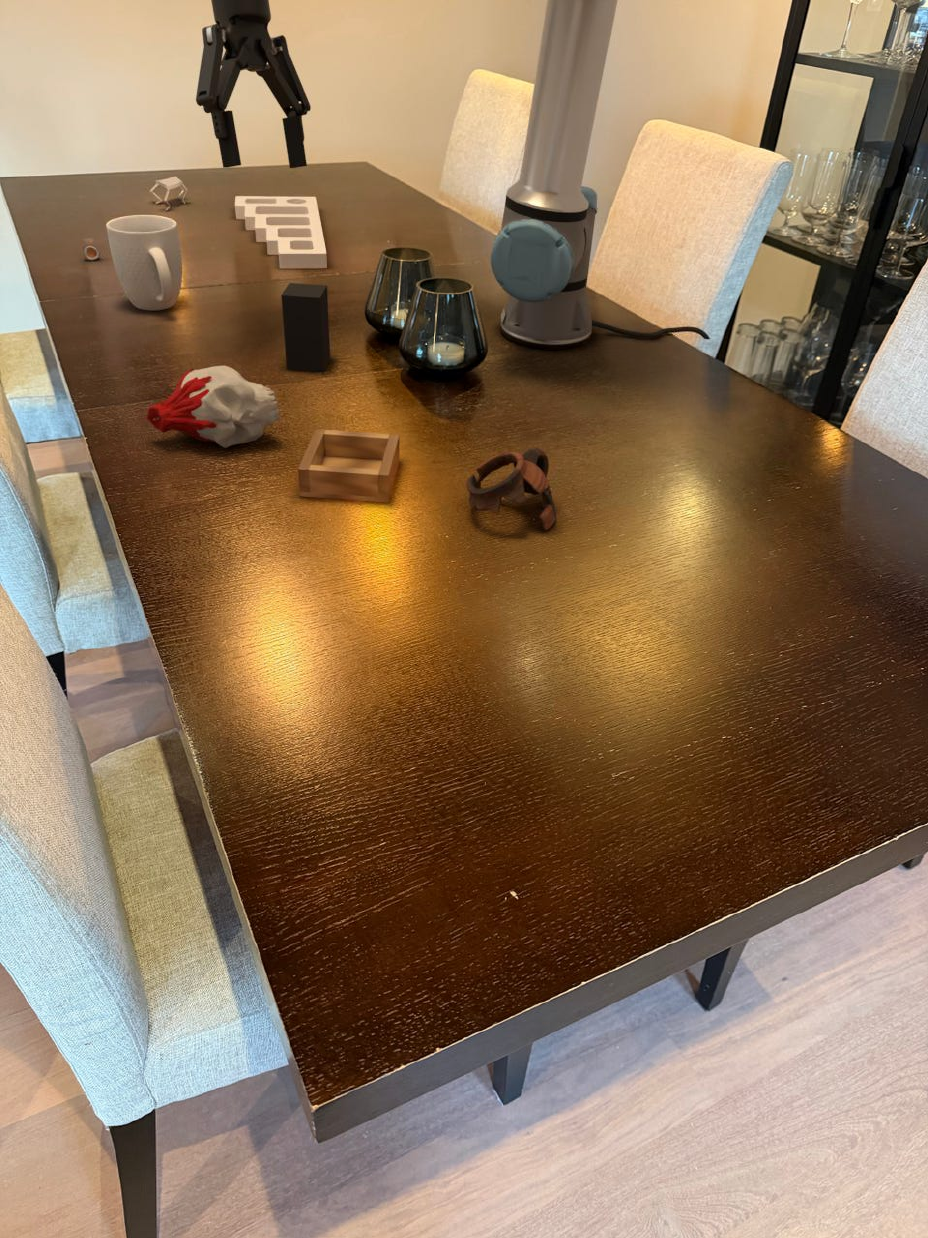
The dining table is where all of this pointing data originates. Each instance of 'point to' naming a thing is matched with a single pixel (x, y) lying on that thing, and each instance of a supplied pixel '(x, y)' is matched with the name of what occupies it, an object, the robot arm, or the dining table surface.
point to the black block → (306, 327)
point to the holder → (286, 228)
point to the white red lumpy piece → (216, 407)
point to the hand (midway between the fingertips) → (266, 166)
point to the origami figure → (169, 188)
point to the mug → (147, 259)
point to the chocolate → (91, 251)
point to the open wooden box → (349, 465)
